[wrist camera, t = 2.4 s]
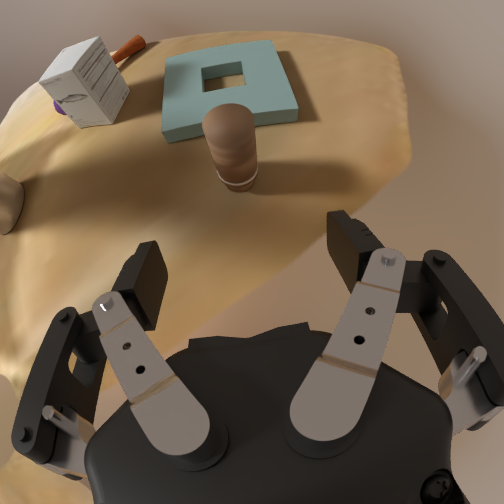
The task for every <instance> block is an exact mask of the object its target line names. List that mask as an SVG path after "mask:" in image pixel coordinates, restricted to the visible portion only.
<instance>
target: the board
mask: <svg viewBox="0 0 504 504" xmlns="http://www.w3.org/2000/svg"><path fill="white" fill-rule="evenodd" d="M242 73H243V77H244V81H245V85H243V86H236V87H230V88H224V89H219V90H213V91H208V92H205V85H204V80H207V79H212V78H217V77H223V76H229V75H235V74H242ZM227 103H235V104H240V105H243V106H245V107H247V108H248V109H249V110H250V111H251V112H252V114H253V116H254V124H255V126H261V125H268V124H276V123H285V122H296V121H297V118H298V110H299V108H298V105H297V102H296V99H295V97H294V94H293V91H292V89H291V86H290V84H289V81H288V79H287V76H286V74H285V71H284V69H283V66H282V64H281V61H280V59H279V57H278V54H277V52H276V50H275V47H274V45H273V43H272V41H271V40H262V41H252V42H244V43H236V44H229V45H223V46H217V47H212V48H206V49H202V50H197V51H192V52H188V53H184V54H180V55H176V56H172V57H168V58H166V67H165V78H164V92H163V109H162V134H163V135H164V137H165V139H166V141H167V143H172V142H176V141H180V140H184V139H189V138H193V137H198V136H203V135H205V134H204V131H203V128H202V122H203V119H204V117H205V115H206V114H207V113H208V112H209V111H210V110H211V109H213V108H215V107H217V106H219V105H222V104H227Z"/></svg>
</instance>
